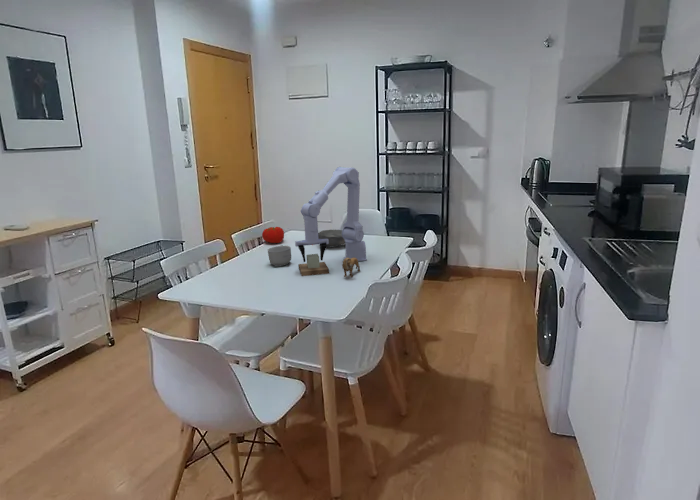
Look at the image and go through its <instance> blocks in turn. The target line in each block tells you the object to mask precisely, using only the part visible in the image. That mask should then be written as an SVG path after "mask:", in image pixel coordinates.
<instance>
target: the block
mask: <svg viewBox="0 0 700 500" xmlns="http://www.w3.org/2000/svg"><path fill="white" fill-rule="evenodd" d="M305 257H306V263H307V266H308V268H319V267H320V263H319V262H320V255H319V254H318V253H310V254H309V253H308V254H305Z"/></svg>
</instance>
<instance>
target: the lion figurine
mask: <svg viewBox="0 0 700 500" xmlns="http://www.w3.org/2000/svg"><path fill="white" fill-rule="evenodd" d="M341 266H342V269H343V273H344V275H343V277H344V278H347V276H348V274H349V277H350V278H353V269H354V267H355V269H357V272H361V268H360V265H359V261H358V259H357V258H345V259H344V258H343V261H342V264H341ZM348 272H349V273H348Z"/></svg>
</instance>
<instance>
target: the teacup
mask: <svg viewBox="0 0 700 500" xmlns="http://www.w3.org/2000/svg"><path fill="white" fill-rule="evenodd" d="M267 255H268V259H269V263H271V264H272V265H273V266H274V267H275V266H276V267H281V266H282V267H283V266H286V265H288V264H289V263H290V262H291V260H292V247H291V246H290V245H283V244H280V245H275V246H272V247H269V248H268V249H267Z"/></svg>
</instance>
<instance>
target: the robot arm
mask: <svg viewBox="0 0 700 500" xmlns="http://www.w3.org/2000/svg"><path fill="white" fill-rule="evenodd" d="M359 174H360V172H359V171H358V170H357V168H355V167H344V166H343V167H342V166H339V167H336V169H334V171H333V172H332V176H331V177H330V179H329V180H328V181H327V183H326V184H325V186H324V187H323V188H322V189H320V190H316V191H315V192H314V195H313V196H312V197H311V198H310V199H309V200H308V202H305V203H303V205H302V207H301V209H300V213H301V215H302V216H303V220H304V221H303V222H304V223H303V225H304V239H303V240H296V241H294V243H295V247H296V248H298V249H299V252H300V254H301V256H302V257H301V258H302V260H303V263H306V253H305V252H306V251H305V246H315V245H316V246H317V245H319V250H320V251H319V252H320V253H319V254H320V255H319V260H320V262H323V260H324V255H325V251H326V249H327V248H328V247H327V245H326V244H329V240H328V239H318V232H319V224H318V223H319V222H318V216H320V213H321V209H322V207H323V206H324V205H325V203H326V202H327V201H328V200H329V195H330V194H331V192H333V191H334V189H336V188H337V187H338V185H339V184H343V185H345V187H347V204H346V206H347V208H346V221H345V222H344V224H343V227H342V229H341V230H342V237H343V238H344V241H345V244H344V245H345V256H344V257H343V260H344V259H345V258H357V259H358V262H364V261H367V246H366V245H367V244H366V242H365V241H364V240H363V239H364V235H365V233H364V230H363V225H362V224H361V222H360V221H359V218H360V216H359V215H360V189H361V188H360V187H361V183H360V179H359V177H360V175H359Z"/></svg>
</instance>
